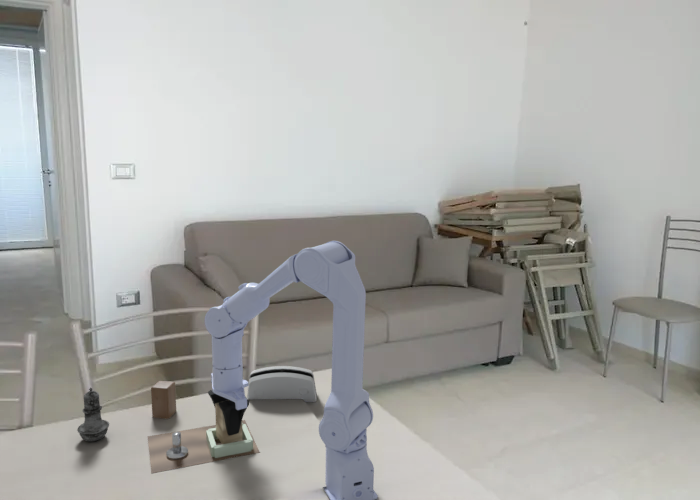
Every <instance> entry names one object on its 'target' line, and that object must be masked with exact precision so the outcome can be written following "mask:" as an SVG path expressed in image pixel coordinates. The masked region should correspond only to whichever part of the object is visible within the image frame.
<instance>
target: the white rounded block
mask: <svg viewBox="0 0 700 500" xmlns="http://www.w3.org/2000/svg"><path fill="white" fill-rule="evenodd" d="M248 384H249V385H248V386H247V395H246V398H247V399H248V400H249V401H250V400H294V399H295V400H297V399H298V400H301V399H302V400H303V402H305V403H316V402H317V399H318V397H317V393H318V392H317V389H316V382H315V376H314V373H313V370H311V369H308V368H305V367H299V366H291V365H290V366H289V365H276V366H267V367H261V368H257V369H254V370H252V371H251V372H250V374H249V377H248Z"/></svg>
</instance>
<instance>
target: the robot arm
mask: <svg viewBox="0 0 700 500" xmlns="http://www.w3.org/2000/svg"><path fill="white" fill-rule="evenodd" d="M299 282H301V283H303V284H304V285H306V286H307V287H309V288H311V289H312V290H314V291H315V292H318V293H319V294H320V295H322V296H324V297H326V298H327V299H328V300H329V301H330V302H331V303H332V305H333V308H332V311H333V312H332V348H331V351H332V352H331V354H332V355H331V385H330V387H331V389H330V392H329V396H328V397H327V400H326V402H325V405H324V407H323V416H322V418H321V420H320V422H319V424H318V434H319V437H320V440H321V441H322V442H323V444H324V446H325V485H326V486H323V487H322V489H323V490H324V492H325V494H326V496H327V497H328V499H329V500H378V499H379V495H378V494H377V492H376V491H375V490H374V484H375V483H374V482H375V481H374V476H375V475H374V474H375V467H374V464H373V462H372V460H371V458H370V457H369V455H368V449H367V442H368V441H367V440H368V438H367V433H368V432H367V431H368V430H367V428H368V427H370V426H371V424H372V423H373V420H374V412H373V407H372V406H371V403H370V393H369V392H368V391H367V390H366V389H364V388H363V387H364V386H363V383H364V382H363V379H364V360H365V359H364V353H365V332H366V331H365V328H366V327H365V326H366V323H365V322H366V300H367V299H366V297H367V296H366V295H367V293H366V287H365V285H364V284H363V280H362V278H361V275H360V273H359V271H358V268H357V265H356V254H355V253H354V252H353V251H352V250H351V249H349V248H348V246H347V245H345V244H344V243H343V242H341V241H339V240H331V241H330V240H329V241H327V242H325V243H323V244H319V245H316V246H312V247H305V248H302V249H301V250H300V251H299V252H298V253H295V254H292V255H291V256H289V257H288V258H287V259H286V260H285V261H283V263H281V264H280V265H279V266H278V267H277V268H276V269H274V270H273V271H272V272H271V273H269V274H268V275H267V276H266V277H265V278H264V279H263V280H261V281H260V282H259V283H257V282H249V283H248V282H244V283H241V284H240V285H239V286H237V287H238V291H237V292H235V293H234V294H233V295H231V296H227V297H225V298H224V299H223V303H222V304H221V305H218V306H213V307H210V308H209V310H208V311H207V312H206V313H205V316H204V327H205V329H206V331H207V332H208V333H209V334H210V335H211V353H212V354H211V356H212V358H211V359H212V361H211V362H212V372H211V373H210V383H211V389H210V390H208V392H207V394H208V396H209V397H210V399H211V401H212V404H213V406H214V407H215V403H218V405H219V406H220V408H221V410H222V412H223V415H224V419H225V425H226V430H227V433H228V435H229V436H230V435H234V434H238V433H239V430H240V426H241V422H242V420H243V417H244V416H245V412H246V411H247V408H249V406H250V399H249V400H248V399H247V395H246V394H245V393H246V392H245V388H248V385H249V381H248V380H247V379H243V377H244V375H243V373H244V371H243V366H244V365H243V337H244V333H245V328H246V327H247V325H248V323H249V322H250V321H251V320H253V319H255V317H257V316H259V315H260V314H261V313H262V312H264V311H266V309H268V307H269V306H270V304H271V303H270V302H271V301H270V298H272V297H273V296H274V295H276V294H277V293H279V292H280V291H282V290H283V289H285V288H287V287H288V286H289V285H291V284H293V283H295V284H297V283H299ZM219 402H220V403H219Z"/></svg>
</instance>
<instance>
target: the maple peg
mask: <svg viewBox="0 0 700 500" xmlns="http://www.w3.org/2000/svg"><path fill="white" fill-rule="evenodd" d="M219 403H220V402H219ZM214 410H215V425H216V437H217V438H218V439H219V440H220V442H221V443H222V444H227V443H232V442H236V441H239V440H243V436H242V422H241V426H240V430H239V433H238V434H234V435H230V436H229V435H228V433H227V430H226V425H225V419H224V415H223V412H222V410H221V408H220V406H219V405H218V403H215V406H214Z"/></svg>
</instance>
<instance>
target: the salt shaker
mask: <svg viewBox="0 0 700 500" xmlns="http://www.w3.org/2000/svg"><path fill="white" fill-rule="evenodd" d="M100 404H101V403H100V394H99V392H98V391H96V390H94V389H93V388H92V387H91V386H90V388H89V389H88V391H86V393H84V394H83V406H84V407H83V409H82V413H84V421H83V423H81V424H80V425H78V427H77V430H76V431H77V433H78V434H79V436H80V437H81V440H83V441H86V442H96V441H100V440H101V439H103V438H104V437H105V436H106V435H107V433H108V430H109V426H110V423H109V421H107V420H106V419H102V413H101V410H102V408H103V407H102V405H100Z"/></svg>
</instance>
